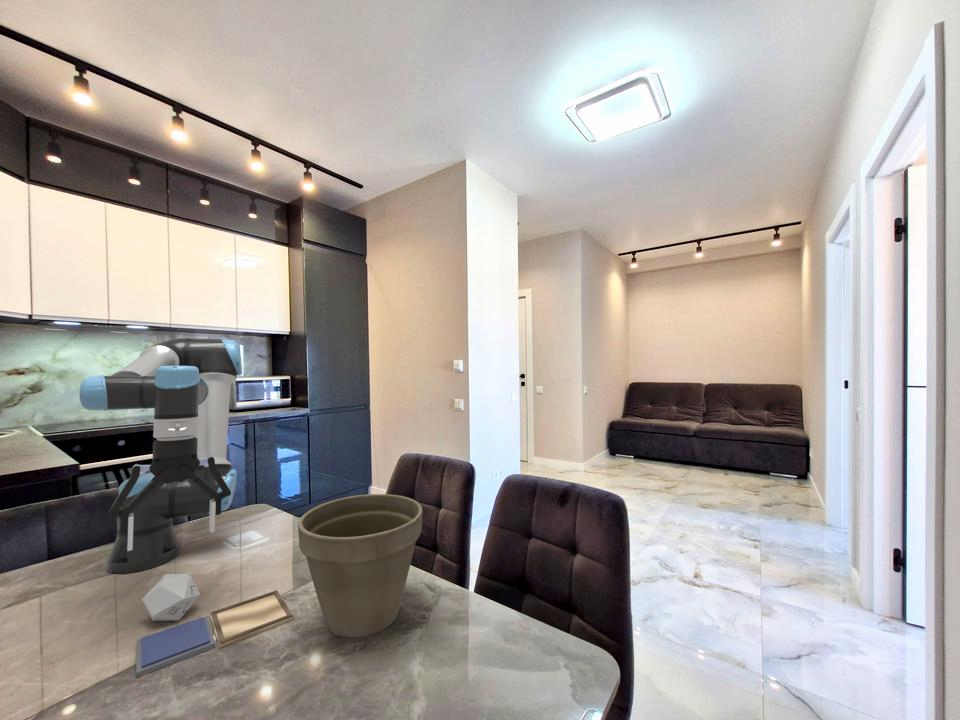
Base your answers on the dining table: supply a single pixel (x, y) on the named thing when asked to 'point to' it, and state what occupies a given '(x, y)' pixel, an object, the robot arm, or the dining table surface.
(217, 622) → the board
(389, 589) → the plant pot
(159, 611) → the die
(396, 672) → the dining table surface
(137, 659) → the ink pad
